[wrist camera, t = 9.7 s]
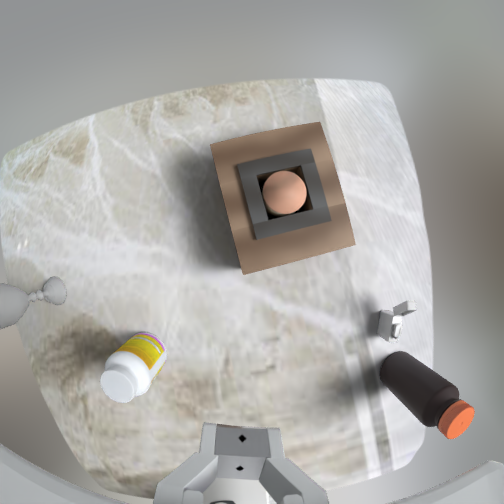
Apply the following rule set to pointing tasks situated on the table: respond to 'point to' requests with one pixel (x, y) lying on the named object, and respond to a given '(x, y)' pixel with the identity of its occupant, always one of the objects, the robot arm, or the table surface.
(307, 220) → the block
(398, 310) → the lighter
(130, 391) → the supplement bottle
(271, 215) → the peg
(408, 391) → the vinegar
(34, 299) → the chalice
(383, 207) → the table surface
